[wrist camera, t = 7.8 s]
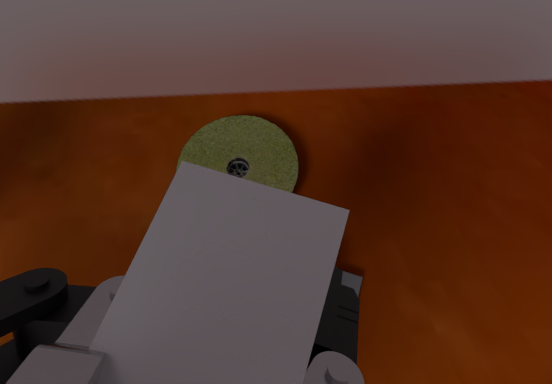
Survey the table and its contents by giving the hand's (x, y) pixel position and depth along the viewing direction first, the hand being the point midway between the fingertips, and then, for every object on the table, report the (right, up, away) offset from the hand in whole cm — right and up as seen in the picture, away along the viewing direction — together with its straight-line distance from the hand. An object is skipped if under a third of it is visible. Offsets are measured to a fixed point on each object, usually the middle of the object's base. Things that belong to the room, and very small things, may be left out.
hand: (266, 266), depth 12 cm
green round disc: (-3, +4, +19) cm, 20 cm away
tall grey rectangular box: (0, -3, +4) cm, 5 cm away
